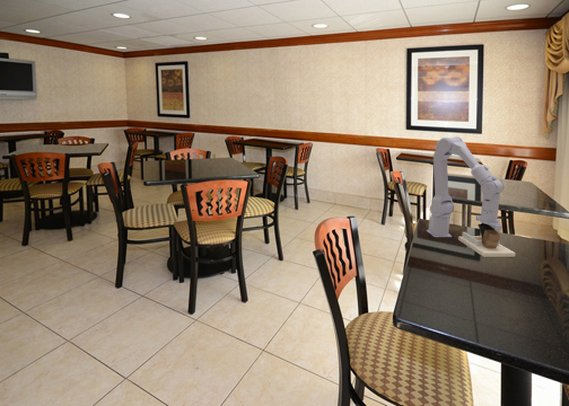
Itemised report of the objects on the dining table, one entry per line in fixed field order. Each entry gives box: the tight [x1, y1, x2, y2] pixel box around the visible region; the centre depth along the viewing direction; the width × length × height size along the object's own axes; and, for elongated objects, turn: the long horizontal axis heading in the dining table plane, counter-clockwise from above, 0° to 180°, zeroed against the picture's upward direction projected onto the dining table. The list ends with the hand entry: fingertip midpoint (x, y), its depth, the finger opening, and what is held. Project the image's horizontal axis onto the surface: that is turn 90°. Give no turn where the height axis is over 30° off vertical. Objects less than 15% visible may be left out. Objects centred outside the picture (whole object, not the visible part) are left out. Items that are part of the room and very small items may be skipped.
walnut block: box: [481, 230, 502, 248], centre depth 140 cm, size 4×4×6 cm
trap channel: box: [457, 231, 516, 258], centre depth 144 cm, size 20×12×4 cm, turn 0°
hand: (485, 241), depth 144 cm, fingers closed
